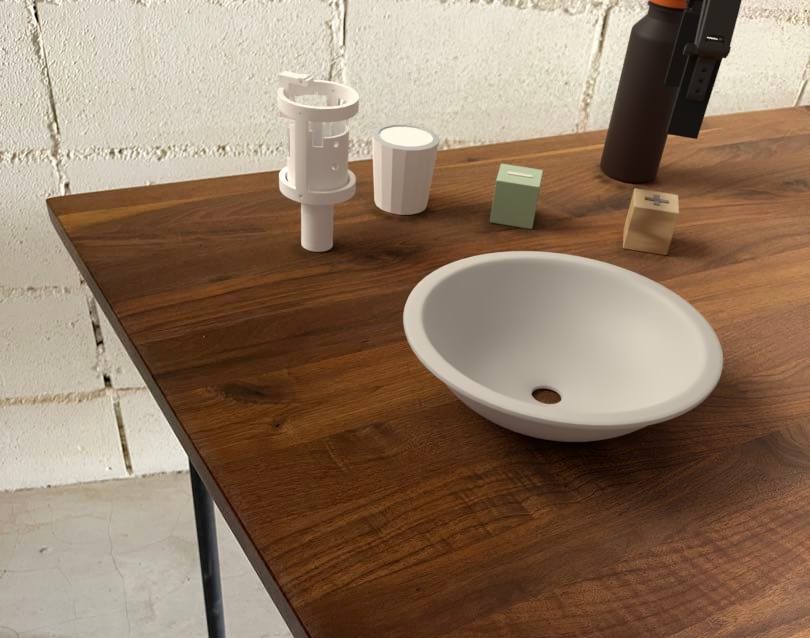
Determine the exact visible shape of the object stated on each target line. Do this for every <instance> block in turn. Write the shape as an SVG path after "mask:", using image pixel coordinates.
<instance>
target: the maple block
mask: <svg viewBox="0 0 810 638" xmlns="http://www.w3.org/2000/svg"><path fill="white" fill-rule="evenodd" d="M679 216H680V202H679V194H674V193H667V192H661V191H656V190H648V189H644V188H643V189H642V188H637V187H635V188H633V191H632V195H631V200H630V204H629V207H628V211H627V215H626V218H625V221H624V225H623V231H622V232H623V234H622V236H623V239H622V249H623V250H631V251H635V252H636V251H637V252H644V253H649V254H655V255H662V256H667V255H668V253H669V249H670V246H671V243H672V239H673V236H674V233H675V231H676V226H677V223H678V220H679Z"/></svg>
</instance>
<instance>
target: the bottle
mask: <svg viewBox="0 0 810 638" xmlns="http://www.w3.org/2000/svg"><path fill="white" fill-rule="evenodd" d="M647 6H648V8H647V13H646V14H645V15H644V16H642V17H641V18H640V19H639V20H638V21H636V23H634V24H633V25H632V27H631V30H630V34H629V37H628V43H627V47H626V51H625V55H624V60H623V64H622V68H621V73H620V77H619V82H618V85H617V90H616V94H615V98H614V101H613V102H614V103H613V107H612V110H611V115H610V120H609V124H608V128H607V131H606V136H605V139H604V145H603V150H602V152H601V153H602V154H601V159H600V162H599V168H600V170H601V171H602V172H603V173H604V175H606V176H608V177H610V178H612V179H614V180H618V181H621V182H625V183H633V184H634V183H636V184H640V183H647V182H650V181H653V180H654V179H655V178H656V176H657V175H658V171H659V169H660V164H661V162H662V158H663V153H664V150H665V147H666V143H667V141H668V136H669V134H667V132H666V131H667V127H668V124H669V121H670V117H671V114H672V110H673V107H674V103H675V100H676V96H677V93H678V89H679V87H674V86H668V85H664V82H665V78H666V75H667V71H668V67H669V64H670V60H671V56H672V53H673V49H674V46H675V42H676V38H677V35H678V31H679V28H680V24H681V20H682V17H683V13H684V10H690V8H686V0H647Z"/></svg>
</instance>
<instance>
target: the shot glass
mask: <svg viewBox="0 0 810 638" xmlns="http://www.w3.org/2000/svg"><path fill="white" fill-rule="evenodd" d="M440 140H441V139H440V138H439V136H438V134H437V133H435V132H434V131H432V130H430V129H429V128H426V127H422V126H420V125H414V124H408V123H391V124H385V125H381V126H379V127H377V128H375V129H373V131H372V132H371V146H372V175H373V177H372V178H373V199H374V200H373V201H374V203H375V206H376V207H377V208H379V209H380V210H381V211H384V212H387V213H389V214H393V215H400V216H401V215H402V216H405V215H407V216H408V215H417V214H419V213H421V212H422V213H423V212H424V211H425V210H426V209H427V206H428V204H429V203H428V202H429V197H430V191H431V186H432V181H433V176H434V170H435V165H436V162H437V161H436V160H437V155H438V150H439V146H440V145H439V144H440Z"/></svg>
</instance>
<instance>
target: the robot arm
mask: <svg viewBox="0 0 810 638" xmlns="http://www.w3.org/2000/svg"><path fill="white" fill-rule="evenodd" d="M742 1H743V0H686V8H690V10H684V13H683V17H682V20H681V24H680V28H679V31H678V35H677V38H676V42H675V46H674V49H673V53H672V56H671V60H670V64H669V67H668V71H667V75H666V78H665V82H664V85H668V86H674V87H679V89H678V93H677V96H676V100H675V103H674V107H673V110H672V114H671V117H670V121H669V124H668V127H667V131H666V132H667V134H668V136H669V135H671V136H676V137H682V138H689V139H694V140H698V137H699V134H700V131H701V128H702V125H703V122H704V118H705V116H706V112H707V110H708V109H707V108H708V105H709V103H710V99H711V96H712V93H713V89H714V87H715V83H716V80H717V78H718V73H719V71H720V68H721V64H722V61H723V59H727V57H728V56H729V55H730V53H731V49H732V47H731V44H732V41H733V37H734V33H735V28H736V24H737V21H738V17H739V12H740V8H741V5H742Z"/></svg>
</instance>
